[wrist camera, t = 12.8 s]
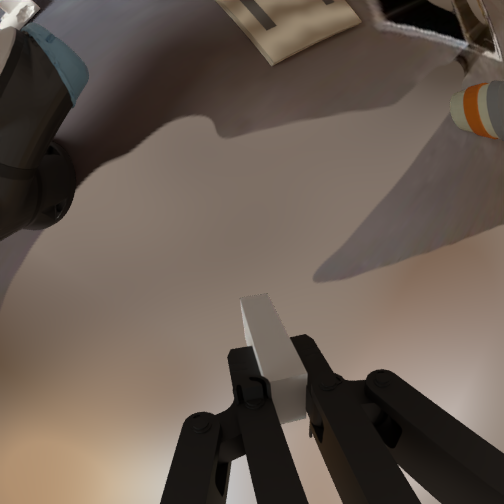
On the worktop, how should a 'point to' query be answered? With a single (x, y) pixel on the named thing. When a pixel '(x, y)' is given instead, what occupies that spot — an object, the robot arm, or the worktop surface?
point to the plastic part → (17, 12)
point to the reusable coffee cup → (480, 109)
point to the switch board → (289, 23)
